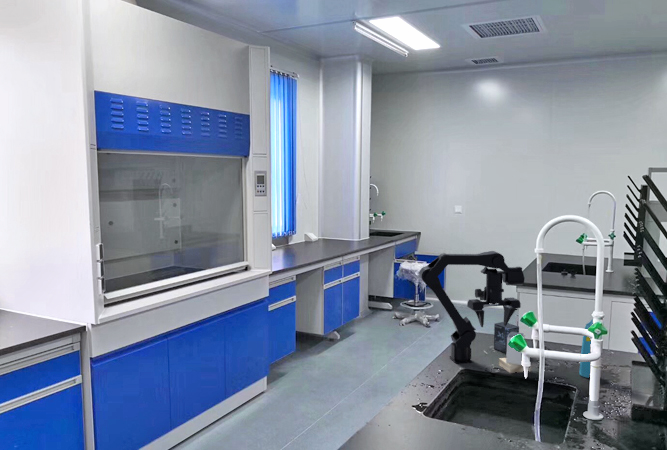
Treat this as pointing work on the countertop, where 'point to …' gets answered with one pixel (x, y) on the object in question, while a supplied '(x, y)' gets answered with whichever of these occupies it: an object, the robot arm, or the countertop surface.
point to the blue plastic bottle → (585, 350)
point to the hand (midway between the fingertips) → (493, 326)
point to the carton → (513, 351)
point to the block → (511, 366)
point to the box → (503, 335)
